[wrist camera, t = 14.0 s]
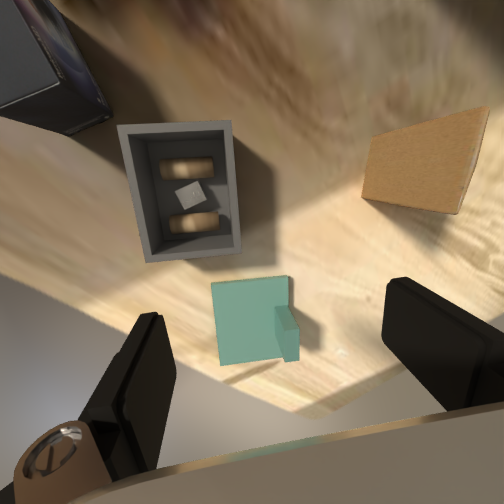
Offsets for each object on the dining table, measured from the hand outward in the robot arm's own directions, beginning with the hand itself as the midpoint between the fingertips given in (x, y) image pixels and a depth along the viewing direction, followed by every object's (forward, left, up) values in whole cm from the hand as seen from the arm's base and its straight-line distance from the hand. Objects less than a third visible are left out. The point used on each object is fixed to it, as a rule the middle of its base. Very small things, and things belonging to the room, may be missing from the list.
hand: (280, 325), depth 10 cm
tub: (+6, -4, -25) cm, 26 cm away
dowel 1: (+6, -7, -24) cm, 26 cm away
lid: (-1, +16, -24) cm, 29 cm away
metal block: (+6, -4, -24) cm, 25 cm away
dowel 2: (+6, -1, -24) cm, 25 cm away
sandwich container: (-26, -5, -25) cm, 37 cm away
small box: (+18, -17, -25) cm, 35 cm away
